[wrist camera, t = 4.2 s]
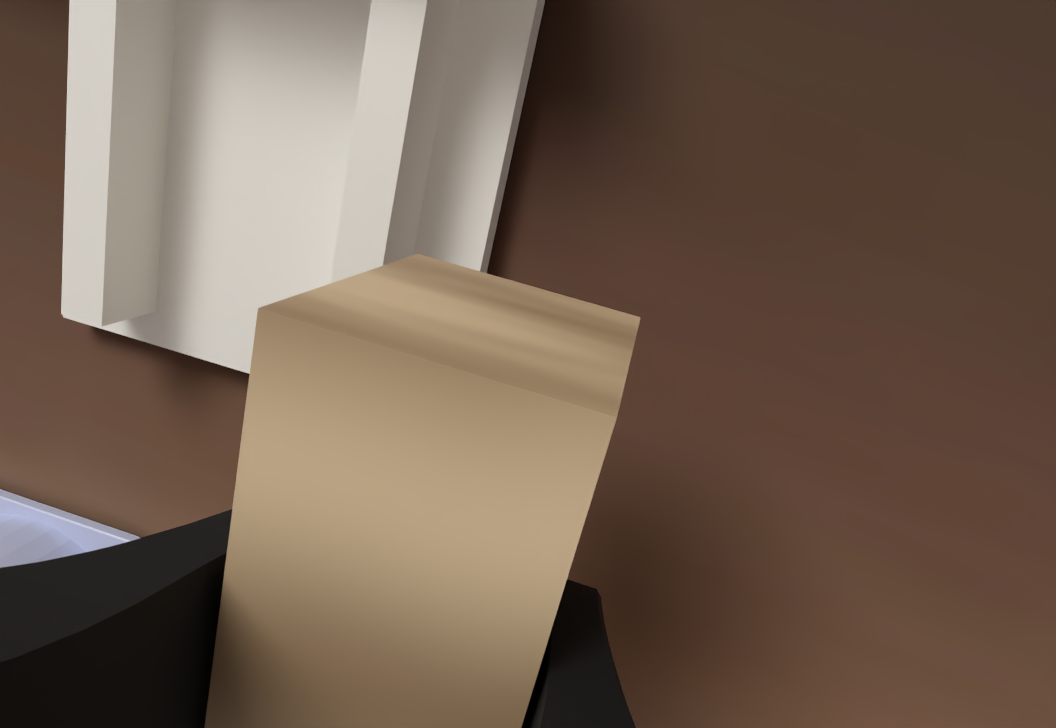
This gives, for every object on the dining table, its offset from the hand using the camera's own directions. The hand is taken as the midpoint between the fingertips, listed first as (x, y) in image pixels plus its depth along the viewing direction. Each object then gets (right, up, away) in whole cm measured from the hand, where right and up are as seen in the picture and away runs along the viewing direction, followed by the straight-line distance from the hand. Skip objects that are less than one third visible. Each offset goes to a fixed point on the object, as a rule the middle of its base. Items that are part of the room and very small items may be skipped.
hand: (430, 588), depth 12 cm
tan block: (0, 0, +2) cm, 2 cm away
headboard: (-5, +10, +7) cm, 13 cm away
